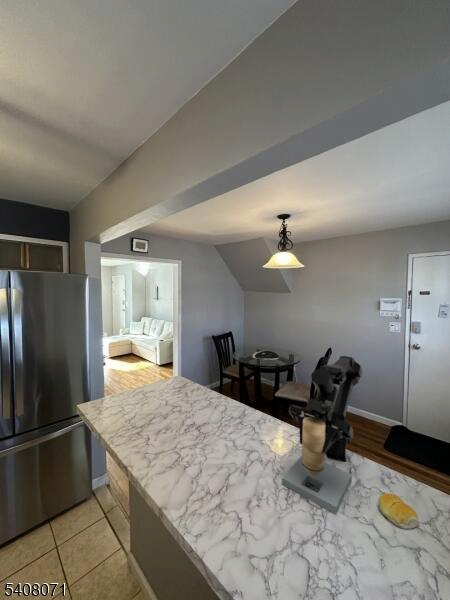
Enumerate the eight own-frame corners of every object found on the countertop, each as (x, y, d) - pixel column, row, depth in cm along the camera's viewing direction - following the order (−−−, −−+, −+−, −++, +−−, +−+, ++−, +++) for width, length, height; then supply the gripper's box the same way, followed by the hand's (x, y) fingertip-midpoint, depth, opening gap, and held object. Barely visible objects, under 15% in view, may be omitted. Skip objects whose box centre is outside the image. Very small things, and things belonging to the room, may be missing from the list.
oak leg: (323, 466, 77) (324, 419, 77) (324, 481, 71) (326, 430, 70) (301, 461, 79) (302, 415, 79) (300, 475, 73) (302, 425, 72)
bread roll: (393, 499, 73) (394, 485, 73) (424, 527, 64) (425, 511, 64) (370, 504, 71) (370, 490, 71) (398, 533, 62) (399, 517, 62)
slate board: (303, 458, 90) (303, 453, 90) (351, 480, 79) (351, 474, 79) (281, 484, 77) (282, 478, 77) (335, 514, 67) (336, 507, 67)
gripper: (291, 380, 84) (274, 425, 75) (352, 396, 72) (339, 451, 63) (300, 397, 90) (286, 440, 82) (357, 413, 78) (347, 466, 69)
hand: (311, 448), depth 74 cm, fingers closed on oak leg, 6 cm apart
